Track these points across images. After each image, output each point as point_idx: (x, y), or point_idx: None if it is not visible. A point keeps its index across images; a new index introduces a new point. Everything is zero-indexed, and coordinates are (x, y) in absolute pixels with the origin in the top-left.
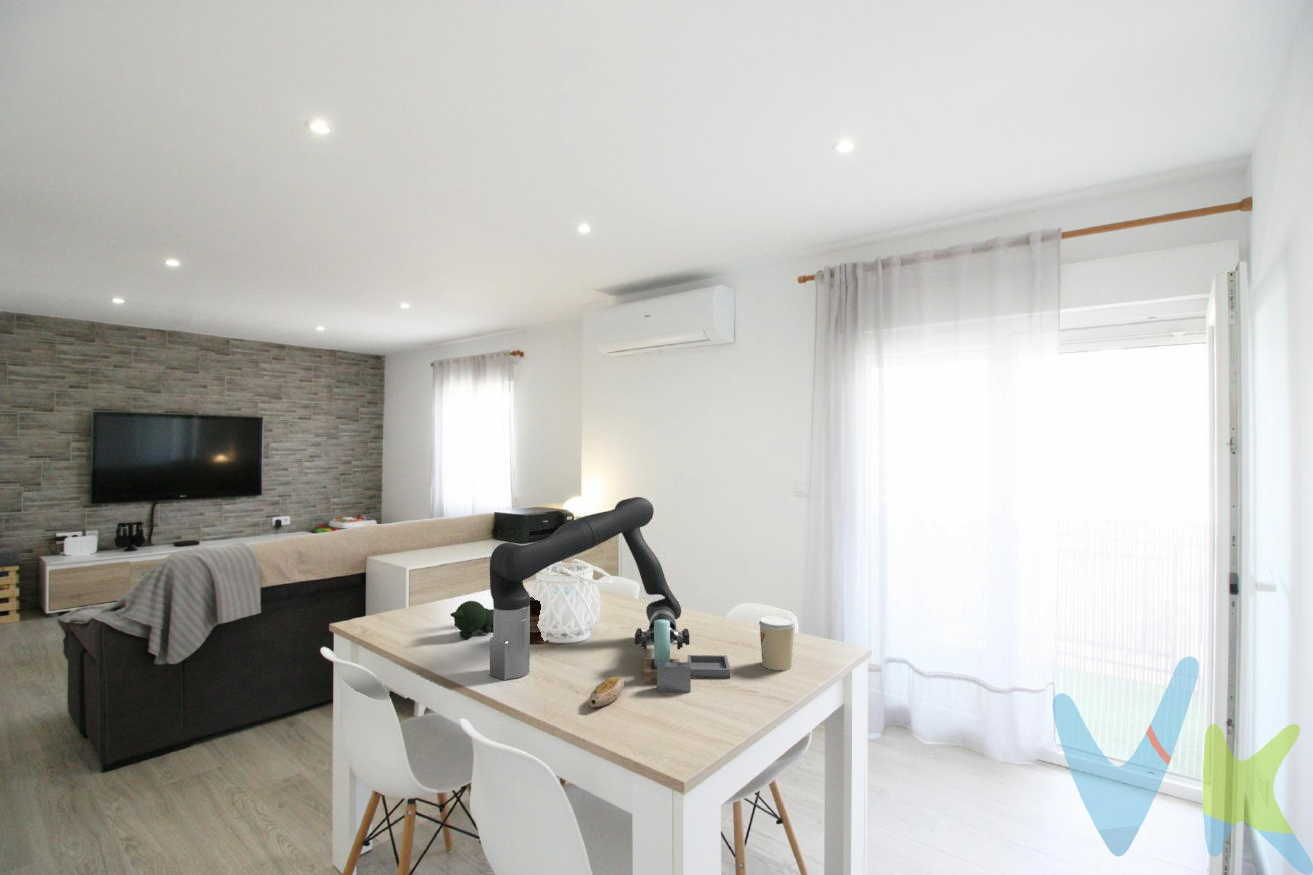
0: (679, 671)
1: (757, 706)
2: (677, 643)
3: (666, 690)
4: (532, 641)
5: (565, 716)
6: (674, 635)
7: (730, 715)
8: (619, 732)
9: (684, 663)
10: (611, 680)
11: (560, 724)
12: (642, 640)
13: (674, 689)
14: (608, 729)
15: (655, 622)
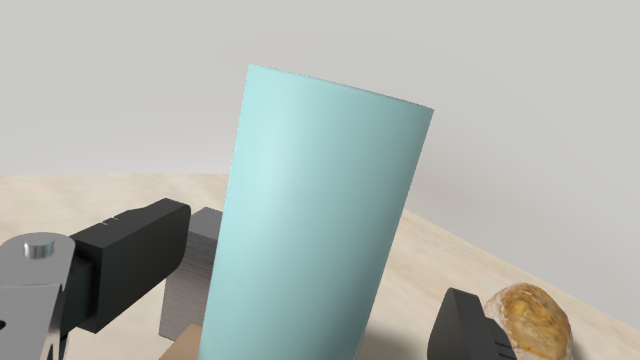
0: None
1: (74, 196)
2: (189, 216)
3: None
4: None
5: (585, 321)
6: (60, 314)
7: None
8: (429, 243)
9: (210, 228)
10: (525, 303)
11: (570, 298)
12: (497, 346)
13: None
14: (453, 255)
15: (415, 104)
